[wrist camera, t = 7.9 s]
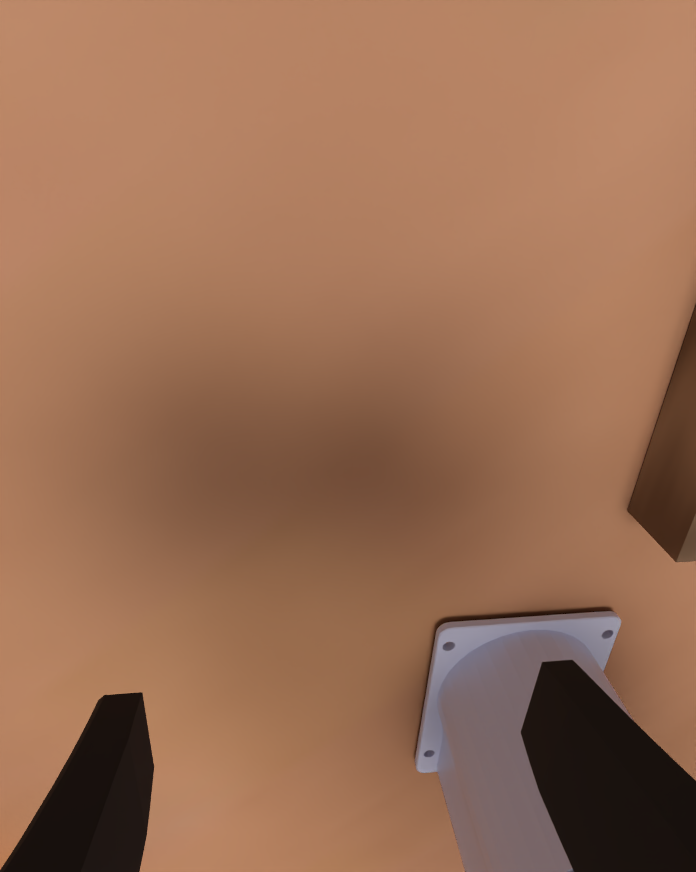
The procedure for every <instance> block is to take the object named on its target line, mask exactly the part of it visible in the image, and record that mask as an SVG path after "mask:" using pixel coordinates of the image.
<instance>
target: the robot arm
mask: <svg viewBox="0 0 696 872" xmlns="http://www.w3.org/2000/svg"><path fill="white" fill-rule="evenodd" d="M620 625H621V619H620V618H619V616H618V615H617V614H616V613H615V612H613V611H602V612H587V613H573V614H558V615H544V616H529V617H515V618H500V619H486V620H471V621H457V622H447V623H444V624H442V625H440V626H439V627H438V629H437V631H436V636H435V642H434V648H433V654H432V660H431V666H430V672H429V678H428V684H427V690H426V696H425V702H424V708H423V714H422V720H421V726H420V732H419V738H418V744H417V750H416V756H415V765H416V769H417V770H418V771H419V772H421V773H429V772H438V775H439V779H440V783H441V786H442V790H443V793H444V797H445V801H446V804H447V808H448V811H449V815H450V819H451V822H452V826H453V829H454V833H455V837H456V840H457V844H458V847H459V851H460V855H461V858H462V862H463V866H464V869H465V872H696V781H695V780H694V779H693V778H692V777H691V776H690V775H689V774H688V773H687V772H686V771H685V770H684V769H683V768H681V767H680V766H679V765H678V764H677V763H676V762H675V761H674V760H673V759H672V758H671V757H670V756H669V755H668V754H667V753H666V752H665V751H664V750H663V749H662V748H661V747H660V746H658V745H657V744H656V743H655V742H654V741H653V740H652V739H651V738H650V737H649V736H648V735H647V734H646V733H645V732H644V731H643V730H642V729H641V728H640V727H639V726H638V725H637V724H636V723H635V722H634V720H633V719H632V717H631V715H630V714H629V712H628V711H627V709H626V707H625V706H624V704H623V703H622V701H621V699H620V698H619V696H618V695H617V693H616V691H615V690H614V688H613V687H612V685H611V683H610V682H609V680H608V679H607V677H606V676H605V674H604V669H605V666H606V663H607V661H608V658H609V655H610V652H611V650H612V647H613V644H614V642H615V639H616V636H617V633H618V631H619V628H620ZM447 642H449V643H447ZM153 772H154V764H153V757H152V751H151V745H150V739H149V732H148V726H147V720H146V713H145V707H144V701H143V694H142V692H141V693H128V694H115V695H104V696H103V697H102V698H101V699H100V700H98V702H97V704H96V706H95V708H94V711H93V713H92V715H91V717H90V719H89V721H88V723H87V724H86V726H85V728H84V730H83V732H82V734H81V736H80V738H79V740H78V742H77V744H76V745H75V747H74V749H73V751H72V753H71V755H70V756H69V758H68V760H67V762H66V763H65V765H64V767H63V769H62V771H61V772H60V774H59V776H58V778H57V779H56V781H55V783H54V785H53V786H52V788H51V790H50V791H49V793H48V795H47V796H46V798H45V800H44V801H43V803H42V805H41V806H40V808H39V809H38V811H37V813H36V814H35V816H34V818H33V819H32V821H31V823H30V824H29V826H28V828H27V829H26V831H25V833H24V834H23V836H22V838H21V839H20V841H19V842H18V844H17V845H16V847H15V849H14V850H13V852H12V853H11V855H10V856H9V858H8V859H7V861H6V862H5V864H4V865H3V867H2V868H1V870H0V872H139V871H140V866H141V861H142V856H143V851H144V846H145V841H146V836H147V828H148V819H149V810H150V801H151V792H152V782H153Z"/></svg>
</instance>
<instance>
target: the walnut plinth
mask: <svg viewBox="0 0 696 872" xmlns="http://www.w3.org/2000/svg"><path fill="white" fill-rule="evenodd" d="M628 512H629V513H630V514H631V515H632V516H633V517H634V518H635V519H636V520H637V521H638V522H639V524H640V525H641V526H642V527H643V528H644V529H645V530H646V531H647V532H648V533H649V534H650V535H651V536H652V537H653V538H654V539H655V540H656V542H657V543H658V544H659V545H660V546H661V547H662V548H663V549H664V550H665V551H666V552H667V553H668V554H669V555H670V556H671V557H672V558H673V559H674V561H675V562H690V561H696V307H695V310H694V313H693V316H692V319H691V322H690V325H689V328H688V331H687V334H686V337H685V340H684V343H683V346H682V349H681V352H680V355H679V358H678V361H677V364H676V367H675V370H674V373H673V376H672V379H671V382H670V385H669V388H668V391H667V394H666V397H665V400H664V403H663V406H662V409H661V412H660V415H659V418H658V421H657V424H656V427H655V430H654V433H653V436H652V439H651V442H650V445H649V448H648V451H647V454H646V457H645V460H644V463H643V466H642V469H641V472H640V475H639V478H638V481H637V484H636V487H635V490H634V493H633V496H632V499H631V502H630V505H629V508H628Z"/></svg>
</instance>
